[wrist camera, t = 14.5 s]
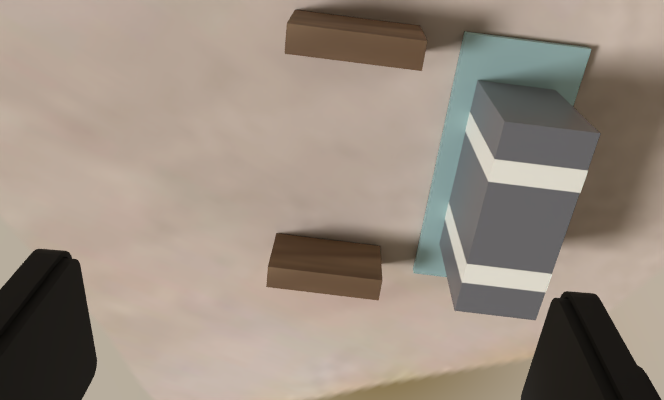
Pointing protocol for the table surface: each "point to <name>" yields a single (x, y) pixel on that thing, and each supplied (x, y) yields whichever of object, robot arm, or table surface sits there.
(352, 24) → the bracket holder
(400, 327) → the table surface
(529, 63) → the rubber mat
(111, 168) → the table surface
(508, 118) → the banded grey block
